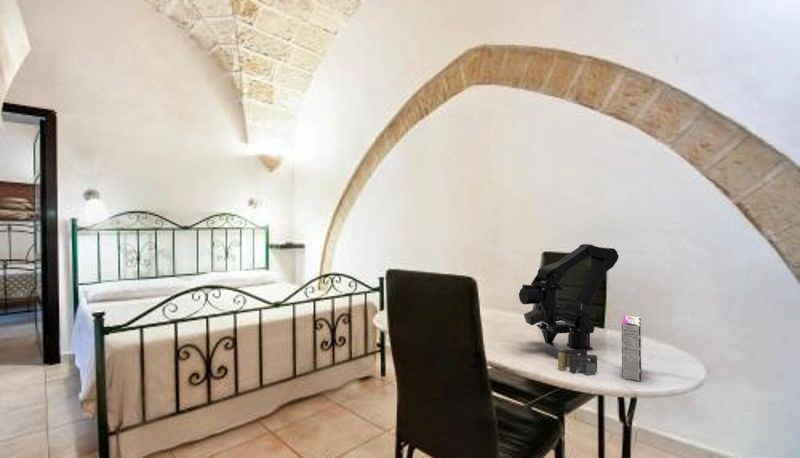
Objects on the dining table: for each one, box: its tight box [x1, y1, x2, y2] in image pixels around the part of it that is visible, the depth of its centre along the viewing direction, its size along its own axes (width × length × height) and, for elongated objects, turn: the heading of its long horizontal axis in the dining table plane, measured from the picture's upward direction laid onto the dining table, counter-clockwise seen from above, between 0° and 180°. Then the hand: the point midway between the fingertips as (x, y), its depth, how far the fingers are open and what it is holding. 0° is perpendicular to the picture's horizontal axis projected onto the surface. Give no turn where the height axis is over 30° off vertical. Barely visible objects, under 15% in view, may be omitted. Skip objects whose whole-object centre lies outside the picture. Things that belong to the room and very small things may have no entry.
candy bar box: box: [621, 315, 642, 382], centre depth 117 cm, size 11×5×16 cm, turn 148°
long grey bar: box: [545, 341, 597, 376], centre depth 128 cm, size 22×3×3 cm, turn 10°
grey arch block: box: [561, 349, 588, 368], centre depth 124 cm, size 8×2×5 cm, turn 98°
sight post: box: [557, 352, 571, 371], centre depth 121 cm, size 4×2×5 cm, turn 98°
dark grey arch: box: [569, 353, 598, 374], centre depth 119 cm, size 8×2×5 cm, turn 98°
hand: (548, 346), depth 140 cm, fingers closed
